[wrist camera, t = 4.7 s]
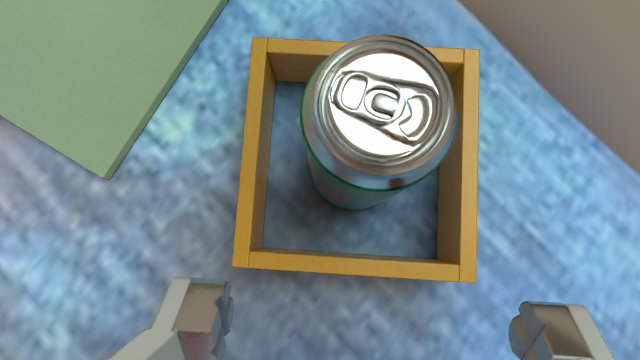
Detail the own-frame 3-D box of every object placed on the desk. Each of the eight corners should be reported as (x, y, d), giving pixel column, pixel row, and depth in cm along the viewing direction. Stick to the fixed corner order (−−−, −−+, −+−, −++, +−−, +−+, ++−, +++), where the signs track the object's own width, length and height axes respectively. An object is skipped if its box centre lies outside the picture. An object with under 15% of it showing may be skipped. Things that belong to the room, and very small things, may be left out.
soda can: (380, 222, 23) (439, 213, 11) (298, 192, 24) (272, 153, 12) (408, 142, 24) (491, 53, 12) (328, 114, 24) (332, -1, 12)
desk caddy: (247, 260, 23) (231, 266, 19) (263, 67, 25) (252, 36, 21) (450, 274, 23) (476, 283, 19) (454, 78, 24) (480, 49, 20)
